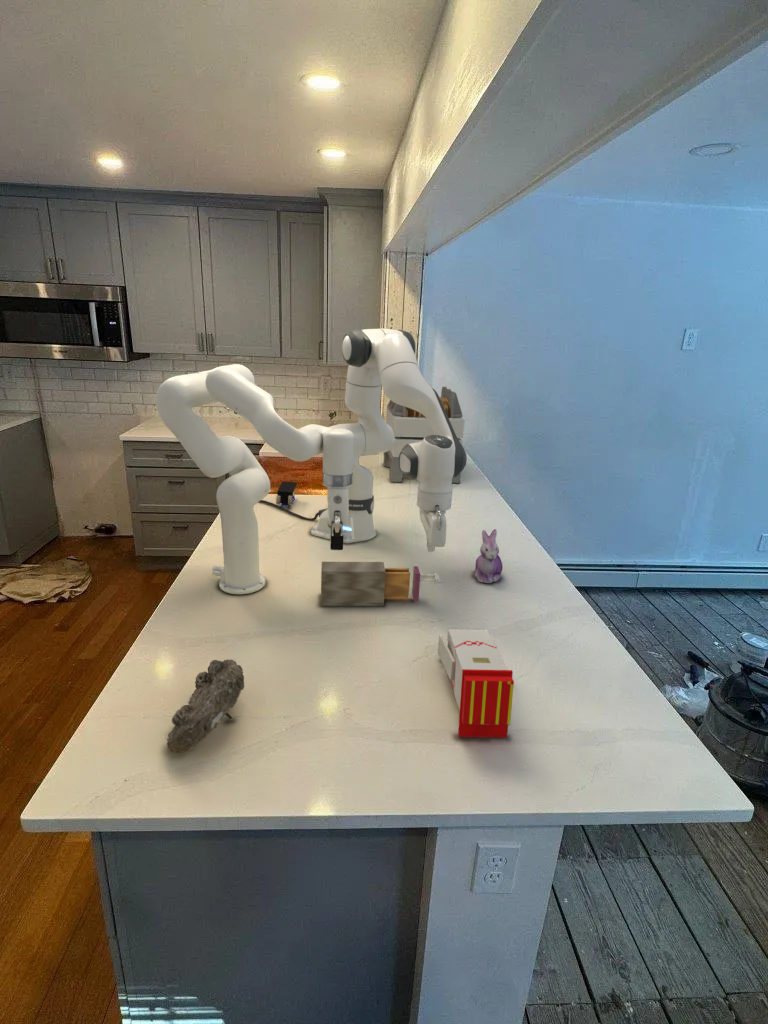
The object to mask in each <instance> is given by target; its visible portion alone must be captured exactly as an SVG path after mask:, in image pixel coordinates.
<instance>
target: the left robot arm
mask: <svg viewBox="0 0 768 1024" xmlns="http://www.w3.org/2000/svg"><path fill="white" fill-rule="evenodd" d="M218 402H219V403H220V404H222V405H224V406H225V407H227V408H228V409H230V410H231V411H233V412H234V413H236V414H237V415H239V416H240V417H242V418H243V419H245V420H246V421H248V422H249V423H250V424H252V425H253V427H254V429H255V431H256V432H257V434H258V435H259V436H260V437H261V439H262V440H263V442H264V443H266V444H267V445H268V446H269V447H271V448H272V449H273V450H275V451H276V452H277V453H279V454H281V455H282V456H284V457H286V458H287V459H289V460H292V461H294V462H299V463H300V462H307V461H308V460H310V459H312V458H313V457H315V456H318V455H321V454H322V486H324V487H326V489H327V491H326V492H327V493H326V495H327V496H326V497H327V508H328V518H329V525H331V539H330V550H331V551H343V550H344V543H343V525H346V526H347V525H348V512H349V487H351V486H352V485H353V451H354V435H353V433H352V432H351V431H350V430H347V429H341V428H333V429H332V428H328V427H329V426H324V425H320V424H316V423H315V424H314V423H311V424H306V425H304V426H302V427H299V428H296V427H294V426H293V425H292V424H290V423H288V422H286V420H285V419H283V418H282V417H280V415H279V414H278V413H277V412H276V410H275V408H274V403H275V400H274V397H273V396H272V395H271V394H270V393H269V392H267V391H266V390H265V389H263V388H261V387H260V386H258V385H256V380H255V376H254V374H253V372H252V371H251V370H250V369H249V368H248V367H246V366H245V365H243V364H241V363H240V364H239V363H232V364H226V365H220V366H216V367H215V368H212V369H209V370H203V371H199V372H193V373H187V374H179V375H175V376H172V377H169V378H168V379H166V380H164V381H163V382H162V383H161V384H160V385H159V387H158V389H157V392H156V395H155V405H156V410H157V412H158V413H157V414H158V415H159V418H160V419H161V421H162V422H163V423H164V426H166V427H167V429H168V430H169V431H170V432H171V433H172V434H173V435H174V437H175V438H176V439H177V440H178V442H179V443H180V444H181V446H182V447H183V449H184V450H185V451H186V453H187V454H188V456H189V457H190V458H191V459H192V461H193V462H194V463H195V465H196V466H197V467H198V469H199V470H200V471H201V472H202V474H203V475H204V476H206V477H208V478H211V479H216V478H219V477H222V476H225V475H226V474H228V475H230V476H229V477H227V478H226V479H224V480H223V481H222V482H221V483H220V485H219V486H218V487H217V490H216V494H215V497H216V498H215V499H216V503H217V504H216V505H217V507H218V511H219V512H218V513H219V516H220V523H221V524H220V525H221V539H222V553H223V554H222V555H223V557H222V558H223V566H221V565H213V567H212V568H211V569H212V570H211V571H212V576H213V577H219V578H220V579H219V581H218V586H219V588H220V590H222V591H223V592H224V593H228V594H232V595H248V594H252V593H255V592H258V591H260V590H261V589H263V588H264V587H265V585H266V577H265V576H264V575H263V574H262V573H260V572H261V571H260V546H259V524H258V519H257V516H256V513H255V510H254V506H255V505H257V503H260V502H259V501H261V500H264V499H265V498H267V496H268V495H269V493H270V491H271V480H270V478H269V475H268V474H267V471H266V470H265V469H264V468H263V466H262V465H261V463H260V462H259V461H258V459H257V458H256V457H255V455H254V454H253V452H252V451H251V449H250V448H249V447H248V446H247V445H246V443H244V441H243V440H241V439H240V438H238V437H236V436H233V435H223V436H220V437H218V436H217V434H216V433H215V432H214V430H213V429H212V428H211V427H210V425H209V424H208V423H207V422H206V420H204V419H203V418H202V417H201V416H200V415H198V414H197V413H196V412H195V411H193V409H194V408H197V407H201V406H204V405H210V404H213V403H218Z"/></svg>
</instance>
